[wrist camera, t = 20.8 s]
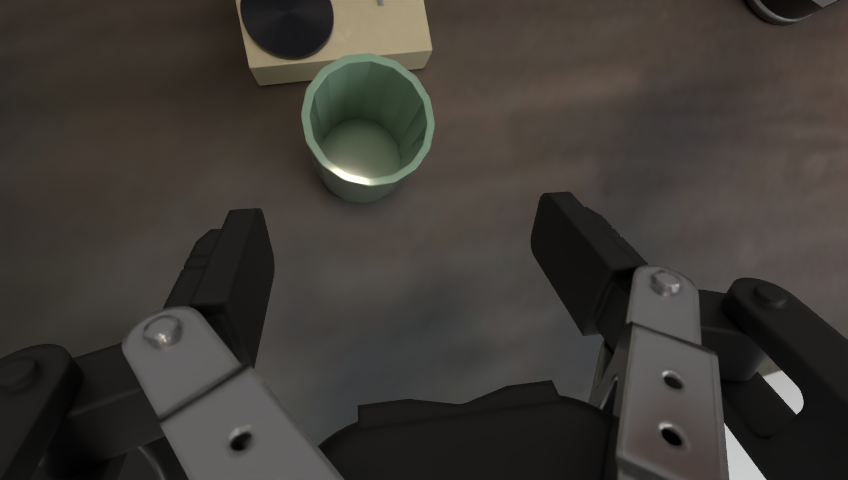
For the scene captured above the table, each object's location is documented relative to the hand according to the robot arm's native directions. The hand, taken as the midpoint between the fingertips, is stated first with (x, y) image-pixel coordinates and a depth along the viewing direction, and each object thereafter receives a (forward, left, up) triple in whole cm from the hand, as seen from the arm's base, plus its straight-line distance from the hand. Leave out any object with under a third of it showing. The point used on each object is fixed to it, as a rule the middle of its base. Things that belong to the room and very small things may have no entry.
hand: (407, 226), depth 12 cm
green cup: (0, -6, -18) cm, 19 cm away
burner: (+3, -15, -15) cm, 21 cm away
